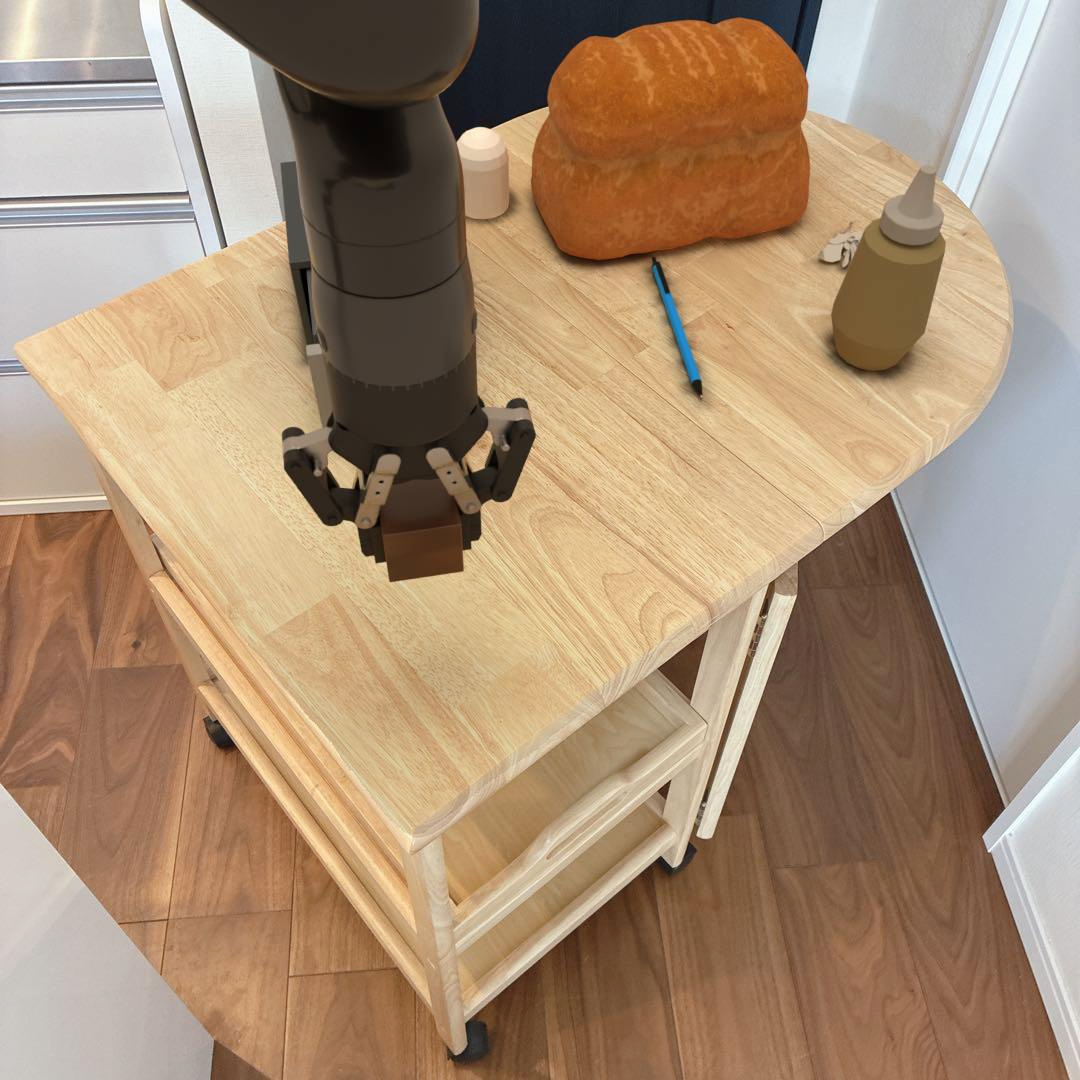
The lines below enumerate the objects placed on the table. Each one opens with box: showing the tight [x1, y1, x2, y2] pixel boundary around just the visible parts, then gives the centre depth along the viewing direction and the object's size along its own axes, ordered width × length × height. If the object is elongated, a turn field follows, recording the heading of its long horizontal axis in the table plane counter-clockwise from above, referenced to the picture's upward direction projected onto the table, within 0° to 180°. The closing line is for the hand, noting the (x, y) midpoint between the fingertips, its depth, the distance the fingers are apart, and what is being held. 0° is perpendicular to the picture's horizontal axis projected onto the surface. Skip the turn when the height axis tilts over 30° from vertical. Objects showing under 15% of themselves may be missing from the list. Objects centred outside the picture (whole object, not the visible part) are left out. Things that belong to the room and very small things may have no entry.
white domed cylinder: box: [456, 126, 510, 220], centre depth 104 cm, size 5×5×8 cm
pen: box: [651, 256, 703, 398], centre depth 95 cm, size 1×19×1 cm, turn 9°
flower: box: [817, 220, 864, 269], centre depth 101 cm, size 8×8×3 cm
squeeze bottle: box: [830, 164, 947, 372], centre depth 87 cm, size 8×8×18 cm
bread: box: [530, 16, 811, 261], centre depth 100 cm, size 16×26×17 cm, turn 106°
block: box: [379, 479, 465, 583], centre depth 63 cm, size 4×4×4 cm
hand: (421, 544), depth 64 cm, fingers closed on block, 4 cm apart
